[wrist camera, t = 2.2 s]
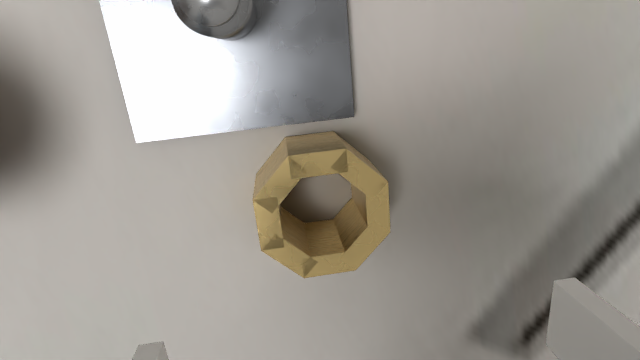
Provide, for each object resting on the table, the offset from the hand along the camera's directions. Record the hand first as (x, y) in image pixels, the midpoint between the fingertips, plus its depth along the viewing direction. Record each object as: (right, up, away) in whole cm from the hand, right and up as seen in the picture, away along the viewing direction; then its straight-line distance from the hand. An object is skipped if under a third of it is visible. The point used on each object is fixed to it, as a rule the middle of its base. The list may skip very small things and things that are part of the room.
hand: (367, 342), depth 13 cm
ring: (-2, +5, +15) cm, 16 cm away
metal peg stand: (-7, +16, +10) cm, 20 cm away
